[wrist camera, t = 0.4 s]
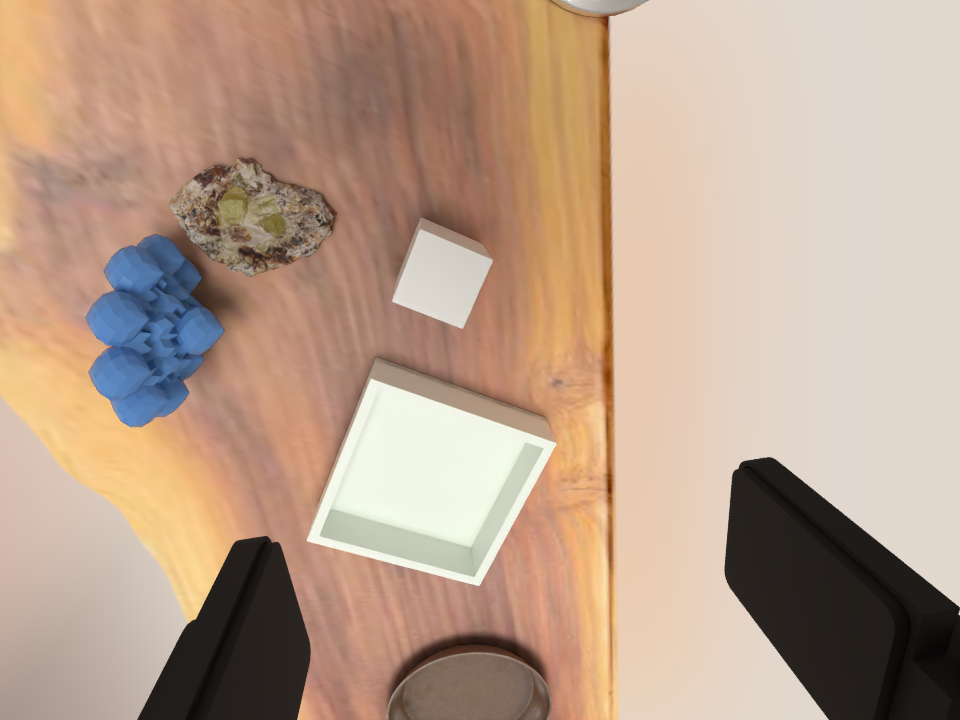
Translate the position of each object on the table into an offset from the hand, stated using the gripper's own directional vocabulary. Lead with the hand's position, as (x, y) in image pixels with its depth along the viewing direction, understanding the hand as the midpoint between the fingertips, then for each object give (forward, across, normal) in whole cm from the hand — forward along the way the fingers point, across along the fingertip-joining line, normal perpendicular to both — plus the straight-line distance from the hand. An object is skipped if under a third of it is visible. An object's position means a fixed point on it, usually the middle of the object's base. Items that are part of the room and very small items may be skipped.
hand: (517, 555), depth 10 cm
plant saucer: (+33, +3, +47) cm, 57 cm away
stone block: (+32, 0, -1) cm, 32 cm away
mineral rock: (+32, +13, -6) cm, 35 cm away
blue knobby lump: (+32, +18, 0) cm, 37 cm away
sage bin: (+32, +3, +17) cm, 36 cm away
